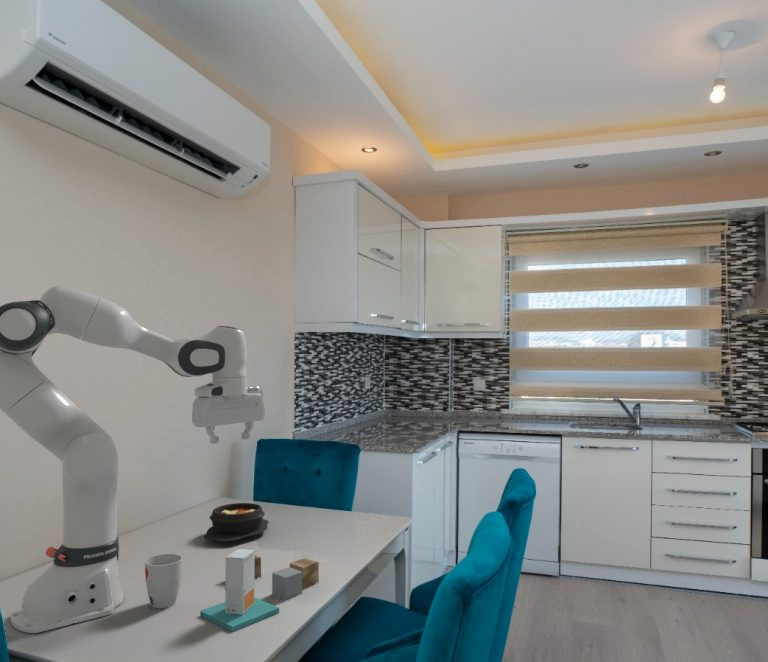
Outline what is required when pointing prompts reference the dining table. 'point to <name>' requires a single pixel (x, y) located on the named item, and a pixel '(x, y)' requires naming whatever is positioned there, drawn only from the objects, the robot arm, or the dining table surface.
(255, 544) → the dining table surface
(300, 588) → the slate grey block
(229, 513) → the casserole
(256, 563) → the walnut block
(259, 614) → the teal mat
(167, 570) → the cup
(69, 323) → the robot arm
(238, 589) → the skincare box
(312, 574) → the light brown wooden cube
